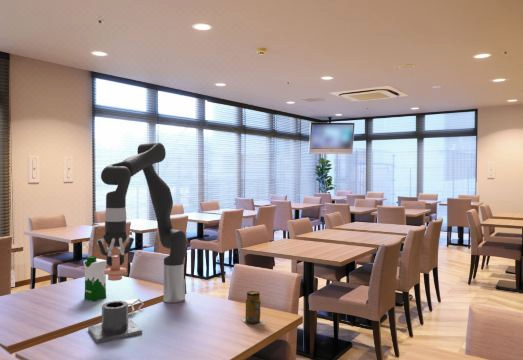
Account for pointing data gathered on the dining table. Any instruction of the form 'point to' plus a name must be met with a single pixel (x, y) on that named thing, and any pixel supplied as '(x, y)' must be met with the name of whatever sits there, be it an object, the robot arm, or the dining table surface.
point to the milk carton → (95, 279)
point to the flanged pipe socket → (114, 323)
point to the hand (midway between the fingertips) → (115, 265)
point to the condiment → (253, 309)
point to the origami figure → (131, 302)
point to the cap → (115, 269)
